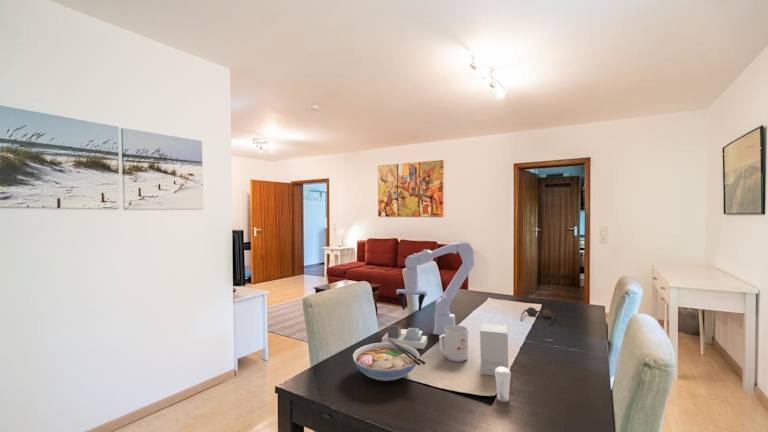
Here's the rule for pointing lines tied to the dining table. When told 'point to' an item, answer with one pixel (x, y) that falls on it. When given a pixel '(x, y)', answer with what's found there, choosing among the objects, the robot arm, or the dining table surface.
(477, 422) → the dining table surface
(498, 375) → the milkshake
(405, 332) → the pad
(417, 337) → the plug block
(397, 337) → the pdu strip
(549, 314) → the eyeglasses
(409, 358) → the ramen bowl
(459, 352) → the mug
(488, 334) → the supplement box
